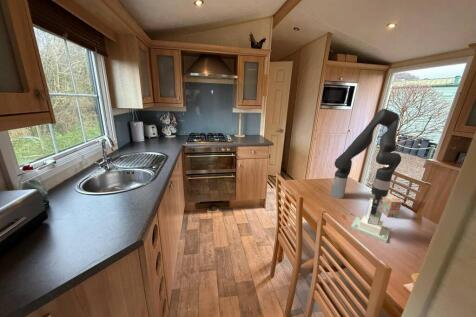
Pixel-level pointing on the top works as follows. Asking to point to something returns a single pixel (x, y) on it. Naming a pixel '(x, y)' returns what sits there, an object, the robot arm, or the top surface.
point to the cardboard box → (390, 205)
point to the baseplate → (382, 235)
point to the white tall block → (375, 218)
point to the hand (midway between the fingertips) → (374, 211)
